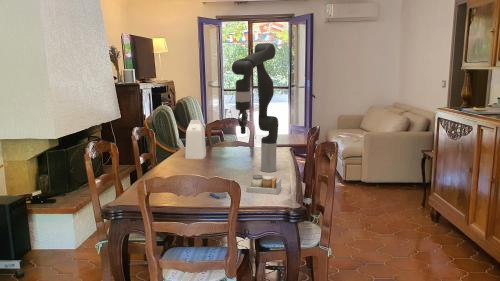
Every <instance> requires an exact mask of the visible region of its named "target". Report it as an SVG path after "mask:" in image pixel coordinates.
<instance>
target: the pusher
mask: <svg viewBox="0 0 500 281" xmlns="http://www.w3.org/2000/svg"><path fill="white" fill-rule="evenodd" d="M277 178H278V177H277V176H274V177H273V179H272V188H273V189H276V183H277V181H278V179H277Z"/></svg>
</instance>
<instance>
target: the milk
mask: <svg viewBox="0 0 500 281" xmlns="http://www.w3.org/2000/svg"><path fill="white" fill-rule="evenodd" d="M205 132H206V131H205V128H204V126H203V124H202V122H201V120H200V119H191V120H190V122H189V124H188V126H187V128H186V132H185V155H184V156H185V159H187V160H188V159H190V160H191V159H193V160H204V159H205V157H207V151H206V148H207V146H206V133H205Z"/></svg>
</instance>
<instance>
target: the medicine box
mask: <svg viewBox="0 0 500 281" xmlns="http://www.w3.org/2000/svg"><path fill="white" fill-rule="evenodd" d="M209 196H211V197H214V198H216V199H219V200H221V199H225V198H226V197H227V193H210V192H209Z"/></svg>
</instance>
